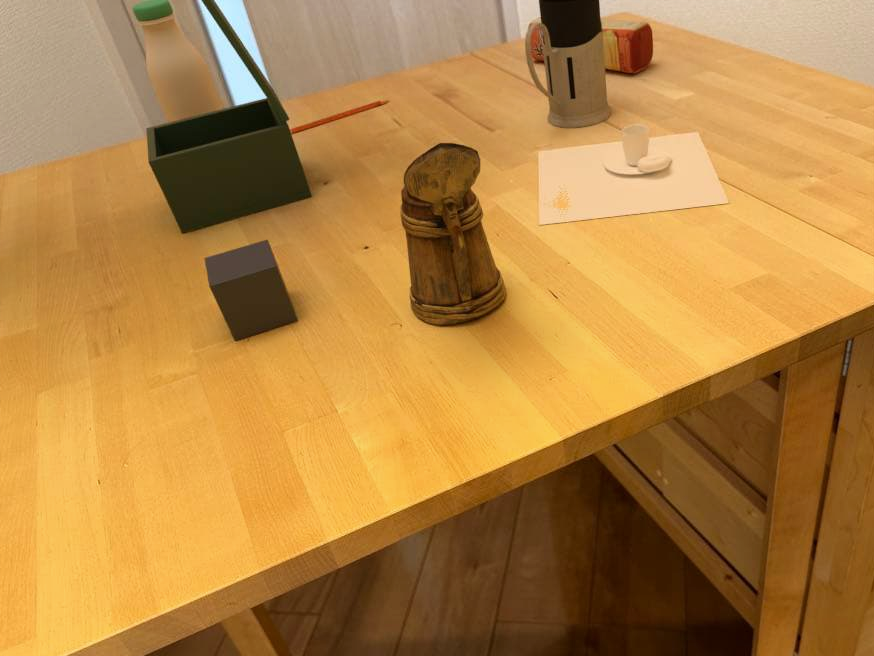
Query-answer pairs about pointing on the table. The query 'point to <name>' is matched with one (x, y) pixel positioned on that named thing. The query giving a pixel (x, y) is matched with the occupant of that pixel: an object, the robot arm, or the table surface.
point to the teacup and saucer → (627, 177)
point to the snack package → (614, 44)
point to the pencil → (337, 116)
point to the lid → (245, 57)
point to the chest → (226, 164)
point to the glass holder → (572, 62)
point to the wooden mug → (448, 238)
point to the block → (250, 290)
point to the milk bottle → (175, 64)
